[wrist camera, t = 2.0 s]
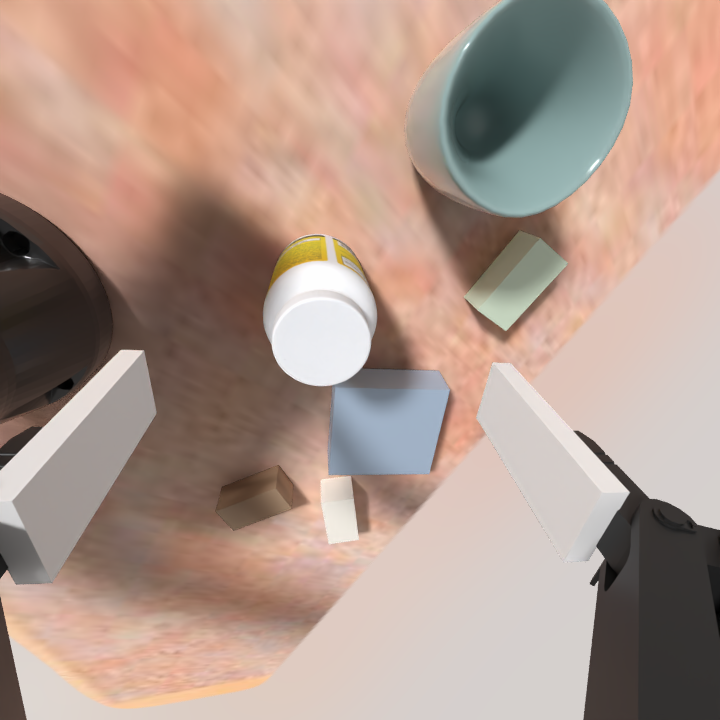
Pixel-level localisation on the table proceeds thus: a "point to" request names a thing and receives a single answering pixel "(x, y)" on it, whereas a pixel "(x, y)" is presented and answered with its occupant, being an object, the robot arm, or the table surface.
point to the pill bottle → (319, 311)
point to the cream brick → (339, 509)
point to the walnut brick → (255, 498)
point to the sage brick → (515, 279)
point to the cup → (521, 105)
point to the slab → (386, 422)
